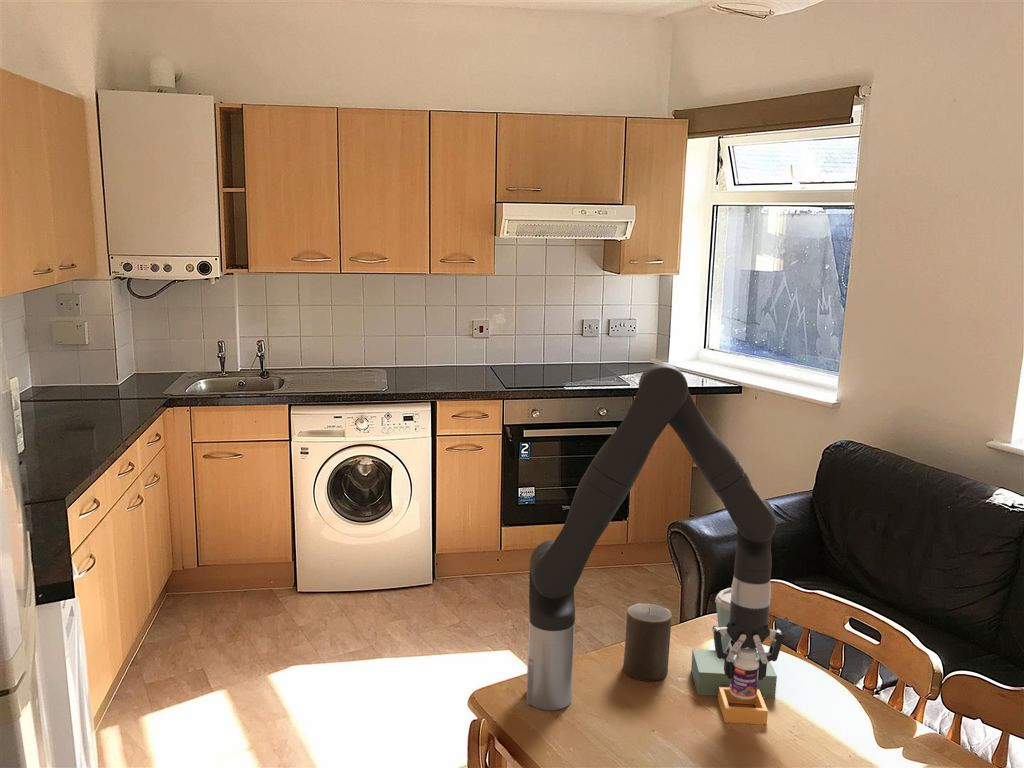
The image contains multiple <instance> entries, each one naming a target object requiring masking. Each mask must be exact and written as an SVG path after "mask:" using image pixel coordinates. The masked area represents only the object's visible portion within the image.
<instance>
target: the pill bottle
mask: <svg viewBox="0 0 1024 768" xmlns="http://www.w3.org/2000/svg"><path fill="white" fill-rule="evenodd" d="M757 653H758V651H757V649H751V648H740V649H739V651H738V653H737V654H736V655H735V656H734V658H733V660H732V661H733V672H732V679H730V692H731V694H732V695H733V696H735V697H737V698H740V699H753V698H755V697H756V695H757V687H758V676H759V661H758V659H757V658H756V656H757Z"/></svg>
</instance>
